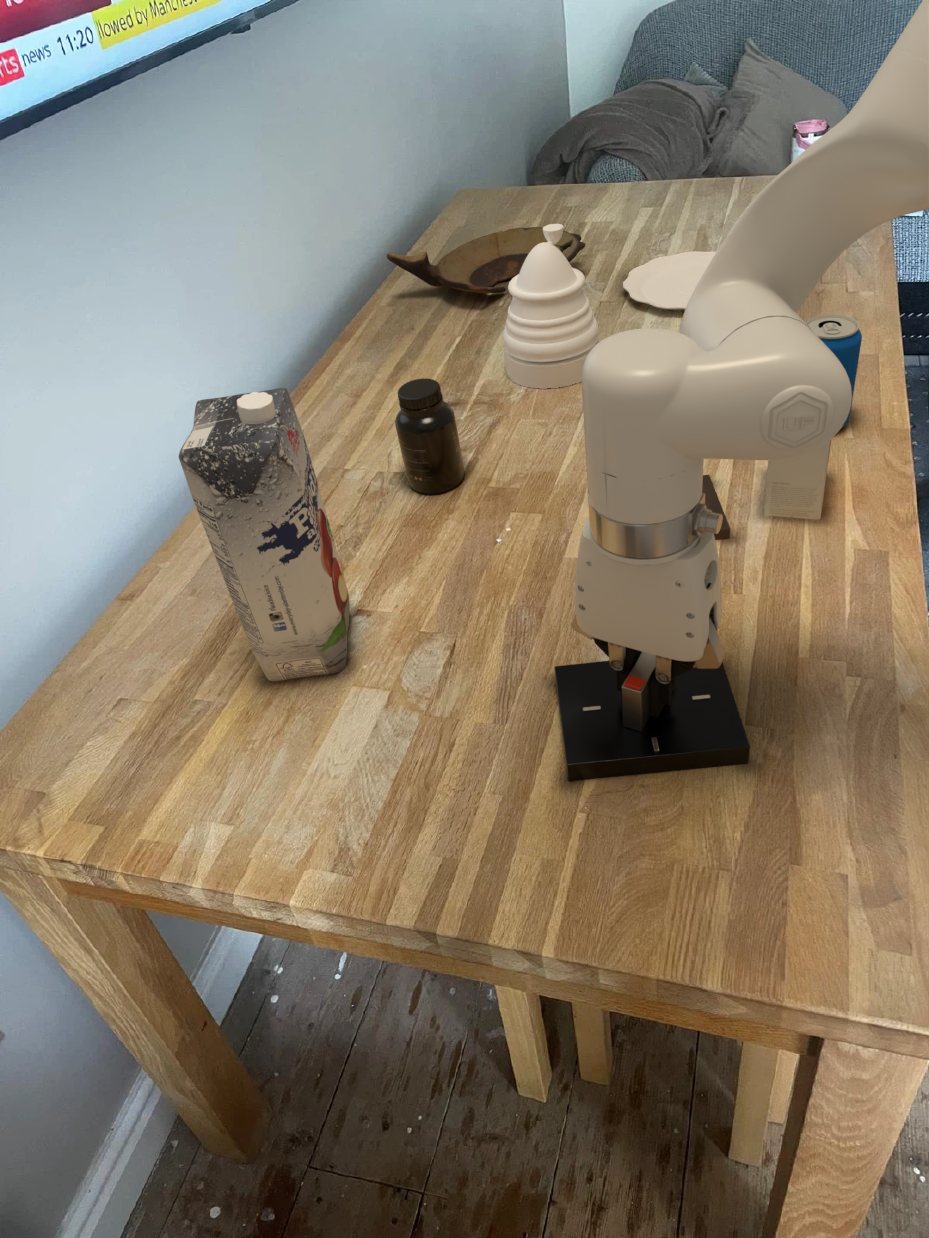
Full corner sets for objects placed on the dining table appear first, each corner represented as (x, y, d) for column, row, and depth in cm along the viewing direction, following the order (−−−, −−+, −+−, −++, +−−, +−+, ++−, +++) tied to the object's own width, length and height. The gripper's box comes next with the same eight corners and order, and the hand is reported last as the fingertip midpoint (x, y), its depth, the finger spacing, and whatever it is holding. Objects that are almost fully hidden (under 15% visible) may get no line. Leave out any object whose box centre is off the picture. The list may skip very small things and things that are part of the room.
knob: (650, 676, 78) (650, 634, 75) (669, 681, 78) (669, 639, 74) (622, 726, 75) (621, 684, 72) (641, 732, 74) (640, 690, 71)
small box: (819, 528, 95) (832, 437, 88) (761, 523, 97) (770, 433, 90) (824, 483, 100) (836, 395, 93) (769, 480, 102) (777, 392, 95)
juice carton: (260, 697, 87) (159, 445, 70) (272, 622, 95) (184, 380, 77) (354, 684, 87) (277, 427, 69) (358, 611, 95) (290, 364, 77)
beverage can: (842, 407, 111) (856, 310, 103) (853, 436, 106) (869, 336, 98) (785, 411, 112) (795, 315, 104) (794, 439, 107) (805, 341, 99)
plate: (609, 317, 138) (608, 306, 137) (641, 261, 152) (641, 250, 151) (756, 321, 131) (757, 309, 130) (775, 262, 145) (776, 251, 144)
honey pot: (549, 337, 136) (538, 208, 124) (619, 358, 128) (615, 223, 116) (487, 373, 130) (470, 242, 118) (557, 398, 122) (546, 260, 110)
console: (717, 673, 82) (718, 647, 80) (747, 772, 73) (750, 745, 71) (556, 690, 83) (554, 664, 81) (569, 789, 74) (566, 763, 72)
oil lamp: (570, 311, 141) (567, 260, 136) (385, 313, 150) (375, 265, 145) (596, 253, 157) (594, 206, 152) (427, 258, 166) (420, 213, 161)
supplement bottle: (430, 459, 115) (414, 368, 107) (476, 471, 111) (462, 379, 103) (396, 488, 111) (376, 396, 103) (442, 501, 107) (425, 408, 100)
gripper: (777, 506, 63) (757, 697, 75) (563, 466, 70) (577, 646, 82) (742, 573, 58) (727, 764, 70) (517, 523, 65) (538, 704, 77)
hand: (646, 699), depth 76 cm, fingers closed on knob
